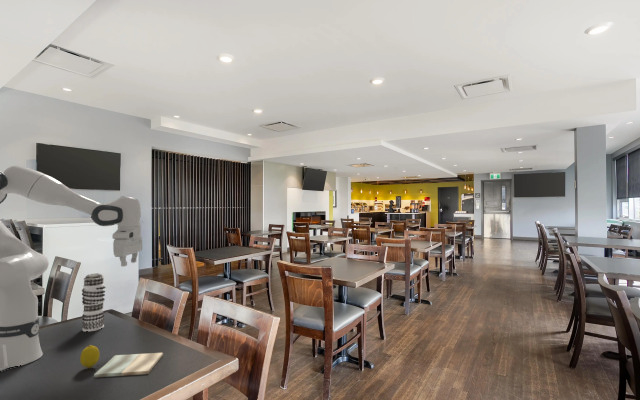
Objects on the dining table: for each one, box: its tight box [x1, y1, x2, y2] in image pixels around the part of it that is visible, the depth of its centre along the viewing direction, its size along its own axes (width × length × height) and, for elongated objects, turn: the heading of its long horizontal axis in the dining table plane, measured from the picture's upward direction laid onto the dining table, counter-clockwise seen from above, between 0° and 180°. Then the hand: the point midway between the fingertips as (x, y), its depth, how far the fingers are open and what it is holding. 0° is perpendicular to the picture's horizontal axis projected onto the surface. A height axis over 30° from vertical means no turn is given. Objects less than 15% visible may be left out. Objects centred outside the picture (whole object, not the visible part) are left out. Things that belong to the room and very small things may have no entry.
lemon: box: [79, 344, 100, 369], centre depth 115 cm, size 6×6×8 cm
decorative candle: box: [81, 273, 107, 332], centre depth 153 cm, size 9×9×25 cm
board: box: [93, 352, 164, 378], centre depth 117 cm, size 17×14×1 cm
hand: (129, 264), depth 145 cm, fingers open, 8 cm apart
